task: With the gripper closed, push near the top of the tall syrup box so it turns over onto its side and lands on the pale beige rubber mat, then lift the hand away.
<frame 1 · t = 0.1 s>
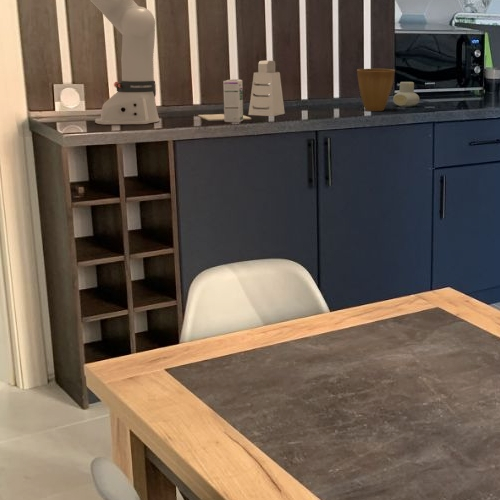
grater: (266, 114, 319), on the table
syrup box: (233, 122, 294), on the table
pipe tee fitting: (405, 106, 350), on the table
plant pot: (374, 110, 334), on the table
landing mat: (224, 117, 306), on the table
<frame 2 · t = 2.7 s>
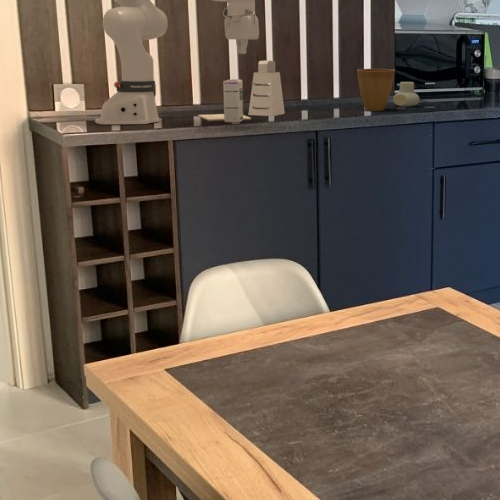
hand: (242, 53, 278), 24 cm above the table, tool pointing down, fingers closed
nothing on the table moved.
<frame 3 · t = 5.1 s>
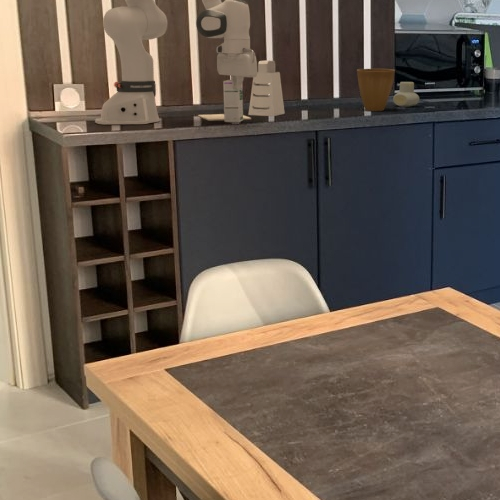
hand: (237, 89, 286), 11 cm above the table, tool pointing down, fingers closed
syrup box: (233, 122, 294), on the table, touching gripper
everything else where it was.
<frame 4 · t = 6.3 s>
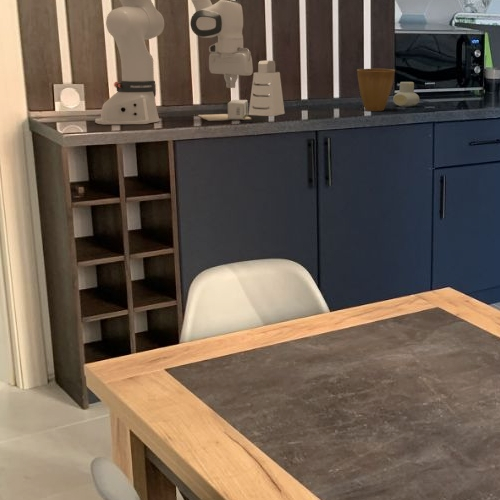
hand: (230, 87, 294), 12 cm above the table, tool pointing down, fingers closed
syrup box: (234, 111, 296), point 3 cm above the table, touching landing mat
everything else where it was.
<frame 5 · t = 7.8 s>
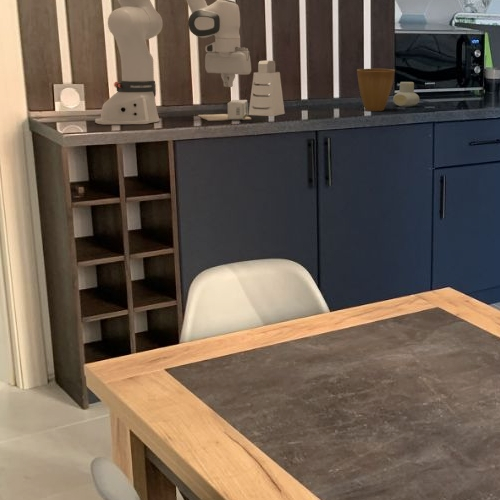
hand: (228, 86, 298), 12 cm above the table, tool pointing down, fingers closed
nothing on the table moved.
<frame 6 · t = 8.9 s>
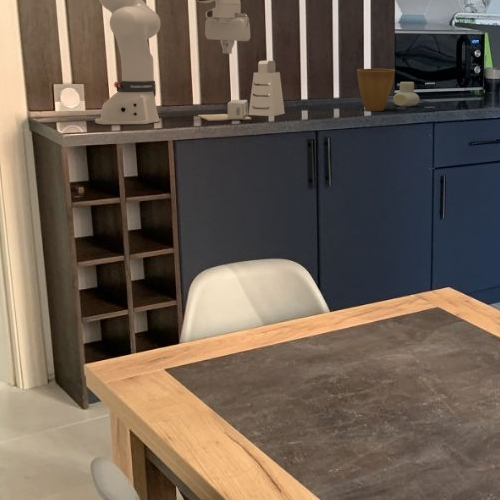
hand: (227, 53, 295), 23 cm above the table, tool pointing down, fingers closed
nothing on the table moved.
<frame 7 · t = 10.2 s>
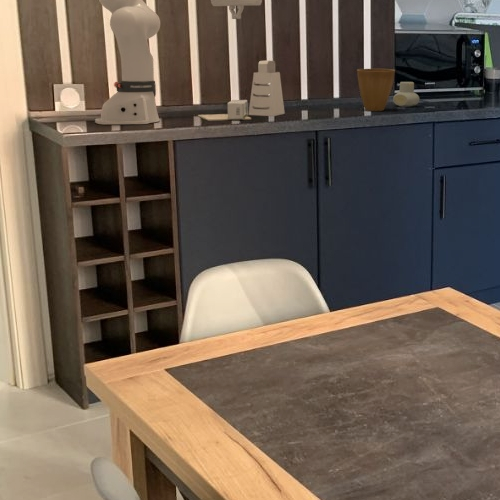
hand: (236, 18, 303), 35 cm above the table, tool pointing down, fingers closed
nothing on the table moved.
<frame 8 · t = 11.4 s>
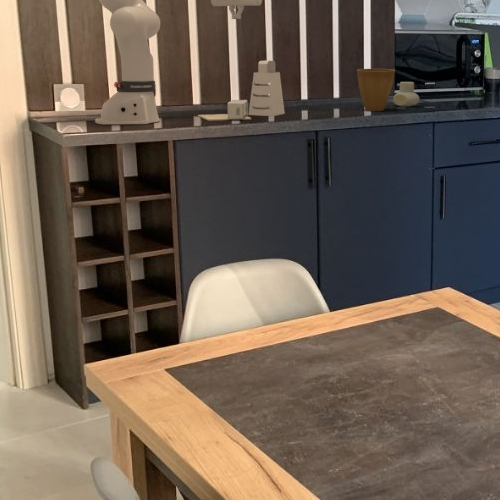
hand: (236, 19, 303), 35 cm above the table, tool pointing down, fingers closed
nothing on the table moved.
at the end: syrup box tilted 90°; syrup box touching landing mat; syrup box inside the target area (3.7 cm from its centre), point 3.4 cm above the table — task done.
